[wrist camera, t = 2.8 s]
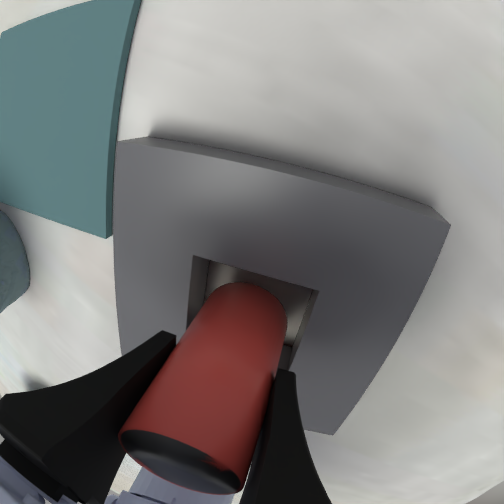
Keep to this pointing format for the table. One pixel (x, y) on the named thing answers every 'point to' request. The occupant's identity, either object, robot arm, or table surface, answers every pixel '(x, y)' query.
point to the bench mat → (64, 111)
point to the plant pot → (11, 264)
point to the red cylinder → (211, 393)
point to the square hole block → (271, 257)
